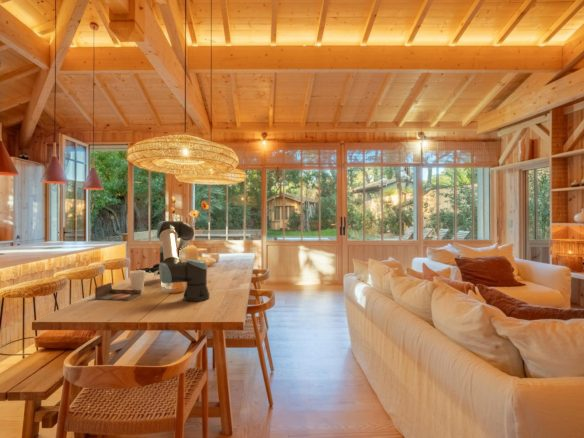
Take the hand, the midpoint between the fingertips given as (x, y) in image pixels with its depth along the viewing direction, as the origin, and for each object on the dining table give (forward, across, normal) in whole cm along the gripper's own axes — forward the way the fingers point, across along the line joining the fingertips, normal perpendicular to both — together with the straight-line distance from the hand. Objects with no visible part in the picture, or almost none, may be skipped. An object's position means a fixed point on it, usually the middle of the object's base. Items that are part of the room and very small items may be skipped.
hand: (145, 273), depth 225 cm
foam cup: (+10, 0, -10) cm, 14 cm away
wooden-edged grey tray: (+26, +3, -9) cm, 28 cm away
